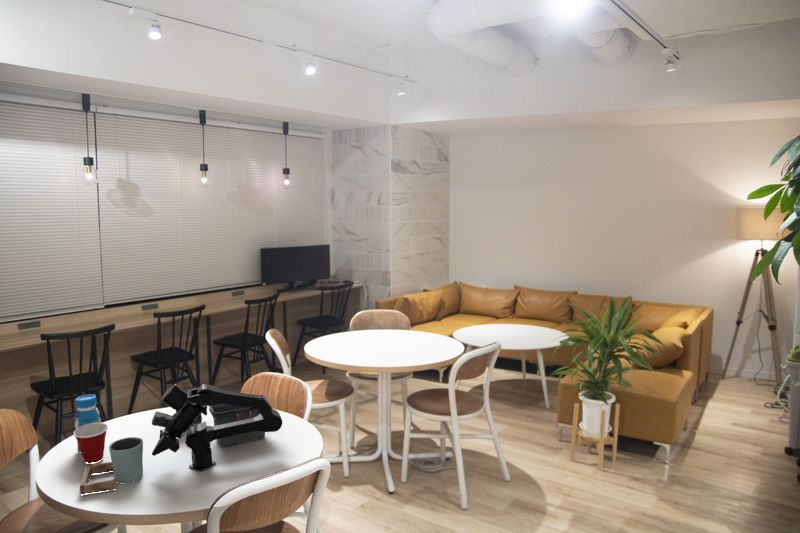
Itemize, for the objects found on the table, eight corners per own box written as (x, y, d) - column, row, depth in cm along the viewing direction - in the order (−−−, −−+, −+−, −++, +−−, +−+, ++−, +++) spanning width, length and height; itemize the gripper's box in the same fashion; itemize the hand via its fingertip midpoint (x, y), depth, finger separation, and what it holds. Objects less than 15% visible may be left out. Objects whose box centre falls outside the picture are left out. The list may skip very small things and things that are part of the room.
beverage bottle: (90, 456, 212) (85, 402, 210) (71, 453, 215) (66, 400, 213) (108, 446, 220) (104, 394, 218) (90, 443, 223) (86, 392, 220)
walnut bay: (121, 469, 201) (120, 460, 201) (116, 490, 187) (115, 480, 187) (87, 475, 198) (86, 465, 197) (80, 496, 184) (79, 486, 183)
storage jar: (175, 425, 240) (172, 389, 238) (200, 420, 244) (198, 385, 242) (177, 433, 231) (174, 396, 229) (203, 429, 235) (201, 392, 233)
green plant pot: (136, 468, 202) (133, 434, 201) (151, 476, 196) (148, 442, 194) (106, 479, 195) (103, 444, 193) (121, 489, 188) (118, 452, 187)
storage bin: (264, 427, 235) (262, 392, 234) (275, 441, 222) (273, 404, 220) (208, 438, 225) (206, 402, 224) (217, 454, 212) (214, 415, 210)
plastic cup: (72, 470, 202) (69, 436, 200) (80, 457, 212) (77, 424, 210) (107, 465, 205) (104, 432, 203) (113, 452, 215) (110, 420, 213)
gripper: (166, 394, 205) (134, 430, 203) (165, 413, 188) (130, 452, 186) (192, 413, 209) (161, 448, 207) (193, 432, 192) (159, 471, 189)
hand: (152, 454), depth 197 cm, fingers closed
